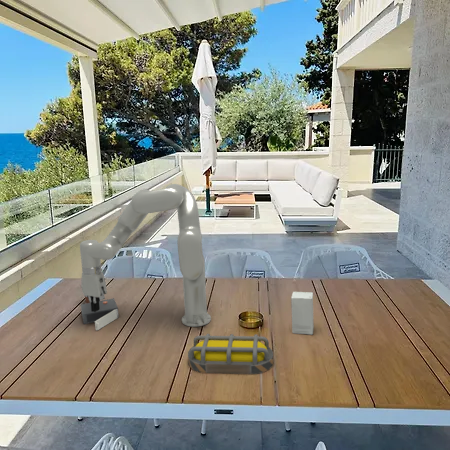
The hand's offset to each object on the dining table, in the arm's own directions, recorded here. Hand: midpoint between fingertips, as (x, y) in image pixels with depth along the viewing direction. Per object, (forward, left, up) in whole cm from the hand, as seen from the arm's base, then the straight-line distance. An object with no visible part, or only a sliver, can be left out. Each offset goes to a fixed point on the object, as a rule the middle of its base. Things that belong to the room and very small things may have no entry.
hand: (95, 310), depth 170 cm
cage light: (-51, -40, -8) cm, 65 cm away
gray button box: (+11, -2, -7) cm, 13 cm away
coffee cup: (+26, -1, -7) cm, 27 cm away
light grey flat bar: (-1, -4, -7) cm, 8 cm away
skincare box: (-44, -75, -7) cm, 87 cm away
